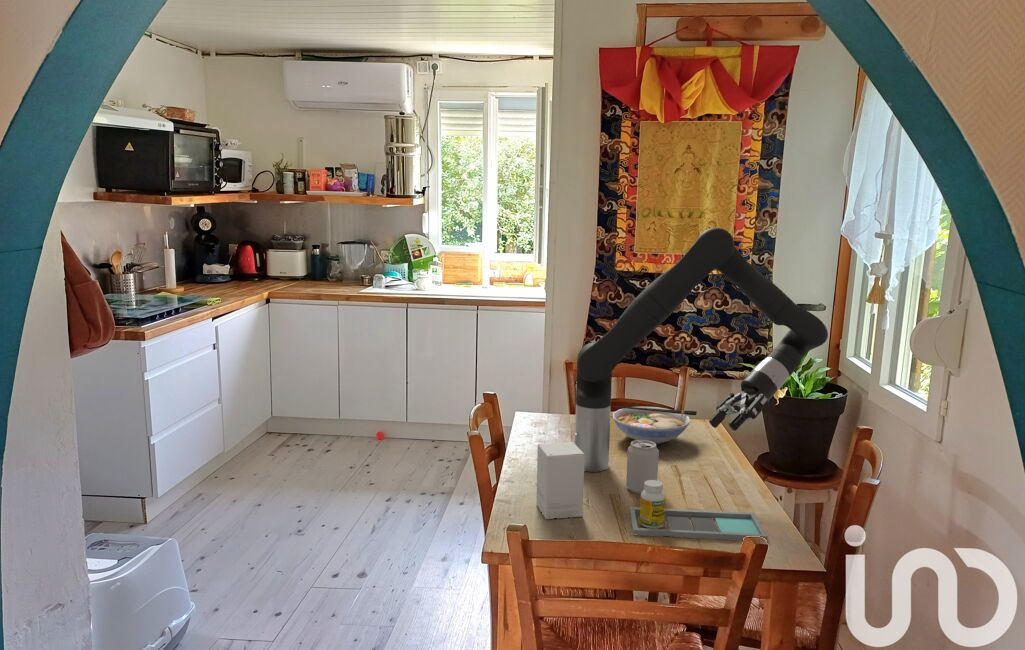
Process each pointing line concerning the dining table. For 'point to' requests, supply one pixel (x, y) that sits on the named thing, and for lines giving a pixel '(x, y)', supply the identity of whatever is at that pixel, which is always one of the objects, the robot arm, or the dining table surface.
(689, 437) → the dining table surface
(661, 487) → the supplement bottle
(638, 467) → the can
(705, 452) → the dining table surface
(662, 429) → the ramen bowl
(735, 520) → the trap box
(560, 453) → the supplement box
